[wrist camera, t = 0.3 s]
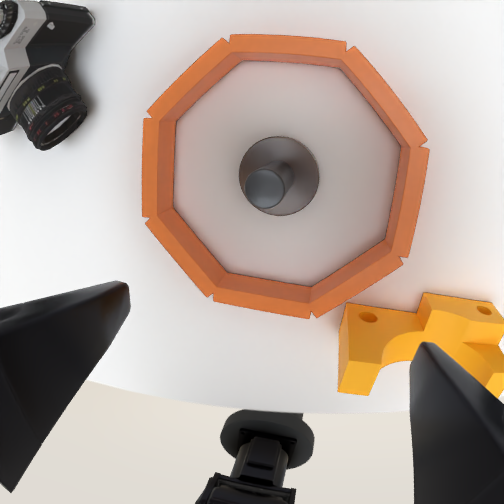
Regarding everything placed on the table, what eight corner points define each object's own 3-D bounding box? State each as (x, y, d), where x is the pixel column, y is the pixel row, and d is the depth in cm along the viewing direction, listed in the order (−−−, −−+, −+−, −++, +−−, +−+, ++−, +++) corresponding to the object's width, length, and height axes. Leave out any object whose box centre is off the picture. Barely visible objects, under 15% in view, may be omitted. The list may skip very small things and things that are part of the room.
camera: (43, 177, 26) (-28, 222, 18) (-5, 104, 22) (-77, 130, 14) (139, 72, 21) (56, 79, 12) (77, -7, 17) (-7, -19, 8)
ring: (381, 312, 22) (385, 331, 20) (160, 273, 25) (145, 286, 23) (425, 68, 15) (437, 61, 13) (167, 47, 18) (150, 40, 16)
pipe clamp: (491, 302, 19) (526, 351, 13) (471, 347, 21) (495, 401, 15) (351, 280, 21) (357, 334, 16) (338, 331, 23) (337, 392, 17)
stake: (314, 218, 21) (309, 245, 16) (239, 207, 21) (212, 230, 17) (323, 141, 19) (322, 144, 14) (244, 132, 20) (217, 133, 15)
